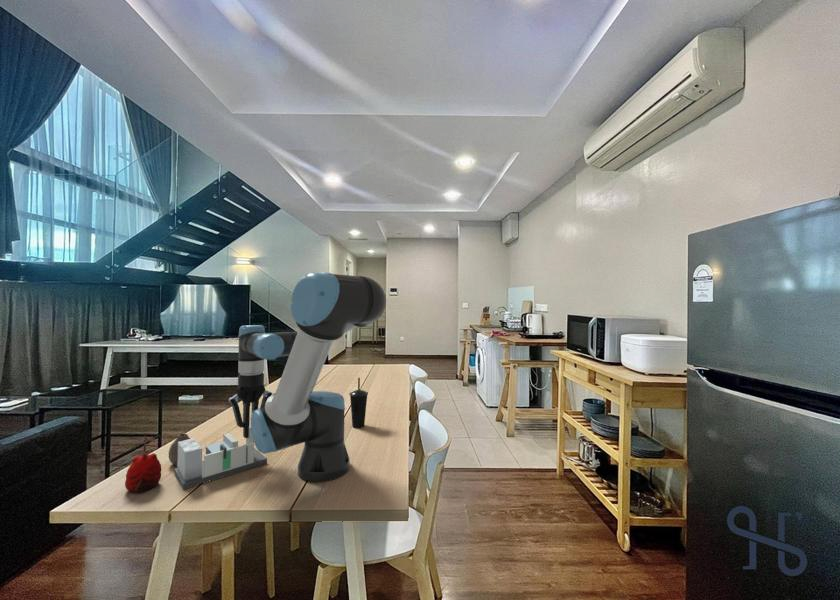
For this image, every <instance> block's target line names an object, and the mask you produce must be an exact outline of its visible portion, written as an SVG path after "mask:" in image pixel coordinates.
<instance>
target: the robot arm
mask: <svg viewBox="0 0 840 600" xmlns="http://www.w3.org/2000/svg"><path fill="white" fill-rule="evenodd" d="M290 298H291V299H290V301H291V304H290V311H291V316H292V318H293V320H294V322H295V325H296V328H298V330H297V331H283V332H266V329H265V326H264V325H261V324H260V325H259V324H257V325H256V324H253V325H252V324H250V325H249V324H248V325H241V326H240V327H239V331H238V336H237V337H238V361H237V362H238V365H237V366H238V368H237V369H238V370H237V371H238V375H237V378H238V379H237V390H236V392H235V395H233V396H232V397H231V396H229V397H228V399H227V400H228V402H229V403H230V405H231V407H232V411H233V414H234V419H235V423H236V426H238V428H242V429H243V432H242V436H243V438H244V439H245V444H249V443H254V447H256V448H255V449H256V450H257V451H259V452H260V453H261V454H262V455H263V454H264V455H265V454H266V455H267V454H270V453H276V452H278V451H281V450H285V449H287V448H288V449H289V448H290V447H293V446H298V445H300V444H304V445H303V450H302V452H301V456H300V457H299V461H298V464H297V475H298V476H299V478H301V479H302V480H304V481H308V482H318V483H319V482H326V481H327V482H328V481H330V480H331V481H332V480H335V479H338V478H341V477H342V476H343V475H346V473H348V472H349V470H350V460H351V459H350V456H349V453H348V449H347V447H346V444H345V410H346V405H345V397H344V396H343V395H342V394H340V393H338V392H333V391H326V390H324V391H323V390H315V391H314V389H315V386H316V384H317V381H318V379H319V378H320V377H319V376H320V375H321V372H322V369H323V367H324V364H325V363H326V360H327V357H328V355H329V353H330V350H331V348H332V346H333V343H334V342H335V341H338V340H339V339H341V338H342V337H343V336H344V335H345V334H346V333H348V332H350V331H352V330H353V329H355V328H365V327H366V326H369V325H371V324H373V323H374V322H376V321H377V320H379V319H380V318H381V317H382V316H383V314H384V312H385V310H386V306H387V298H386V293H385V291H384V289H383V287H382V286H381V285H380V283H378V282H377V281H376V280H374V279H373V278H370V277H367V276H361V275H348V274H336V273H331V272H311V273H308V274H305V275H304V276H302V277H301V278H300V279H299V281H297V282H296V285H295V287H294V289H293V291H292V294H291V297H290ZM279 357H288V358H287V360H286V361H287V362H286V364H285V366H284V369H283V372H282V375H281V378H280V379H279V380H280V381H279V382H278V385H277V388H276V391H275V392H271V391H270V390H266V388H265V385H264V384H265V373H264V371H265V360H276V359H277V358H279ZM239 399H240V401H241V402H242V412H241V409H240V406H239ZM261 399H262V400H261ZM260 400H261V404H260ZM259 405H260V408H259ZM250 409H251V410H250ZM250 411H251V412H250ZM241 413H242V414H241Z"/></svg>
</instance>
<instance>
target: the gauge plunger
mask: <svg viewBox="0 0 840 600" xmlns="http://www.w3.org/2000/svg"><path fill="white" fill-rule="evenodd" d="M222 435H223V438H222V441H221V442H216V443H212V444H208V445H206V446H205V455H207V454H211V453H214V452H218V451H222V450H224V455H223V458H224V459H226V452H227V449H230V448H233V447H237V446H239V441H238V439H236V438H235V437H234V436H233V435H232V434H231V433H229V432H228V433H224V434H222Z"/></svg>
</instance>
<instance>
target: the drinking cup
mask: <svg viewBox="0 0 840 600" xmlns="http://www.w3.org/2000/svg"><path fill="white" fill-rule="evenodd" d="M357 379H358V381H357V389H356V390H353V391H351V392H349V393H348V394H349V398H350V399H349V400H350V410H351V423H352V424H351V426H352V428H353V427H354V429H362V428H364V427H365V424H366V423H365V420H366V411H367V402H368V395H369V392H367V391H365V390H363V389H361V388H360V387H361V385H360V384H361V378H360V377H358V378H357ZM361 427H362V428H361Z"/></svg>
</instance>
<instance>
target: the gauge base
mask: <svg viewBox="0 0 840 600" xmlns="http://www.w3.org/2000/svg"><path fill="white" fill-rule="evenodd" d="M223 455H224V450H222V451H218V452H214V453H211V454H207V455H206V454H204V455H203V456H204V460H202V477H200V478H196V479H193V480H190V481H186V482H184V480H183V478H182V477H181V475H180V473H179V471H178V470H177V467H176V468H174V476H175V478H176V479H177V481H178V483H179V485H180V487H181V488H182V490H183V489H184V490H187V489H189V488H188V487H190V488H192V487H191V486H193V487H195V486H194V485H196V486H198V485H197V484H200V485H202V484H201V483H203V484H205V483H204V482H206V483H208V482H207V481H209V480H212V481H214V480H213V479H216V478H219V477H222V476H225V477H227V476H226V475H228V476H230V474H232V475H235V474H237V472H238V473H241V472H244V471H248V470H250V468H251V469H254V468H257V467H260V466H263V464H264V465H266V463H267V464H268V458H267V457H266V456H264V455H263V453H261V452H259V450H258V449H257V448H255V443H249V444H246V443H245V444H242V445H238V446H237V447H233V448H230V449H227V452H226V459H224V458H223ZM247 469H248V470H247ZM240 471H241V472H240ZM234 473H235V474H234ZM222 478H223V477H222ZM219 479H220V478H219ZM216 480H217V479H216ZM209 482H210V481H209ZM186 488H187V489H186Z"/></svg>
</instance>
